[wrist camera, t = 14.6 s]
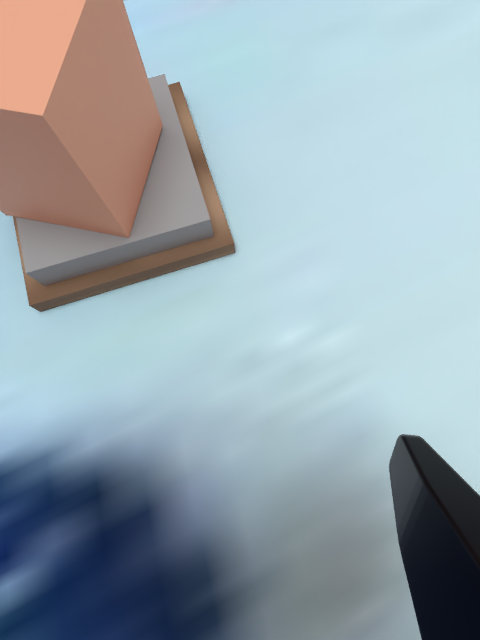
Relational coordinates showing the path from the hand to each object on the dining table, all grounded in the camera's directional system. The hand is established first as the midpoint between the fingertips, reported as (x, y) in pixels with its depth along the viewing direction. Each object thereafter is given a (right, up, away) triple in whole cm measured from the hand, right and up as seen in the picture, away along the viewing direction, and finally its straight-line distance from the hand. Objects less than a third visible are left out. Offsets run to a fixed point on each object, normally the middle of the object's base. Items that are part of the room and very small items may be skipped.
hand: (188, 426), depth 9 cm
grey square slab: (-7, +10, +16) cm, 20 cm away
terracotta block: (-7, +11, +14) cm, 19 cm away
